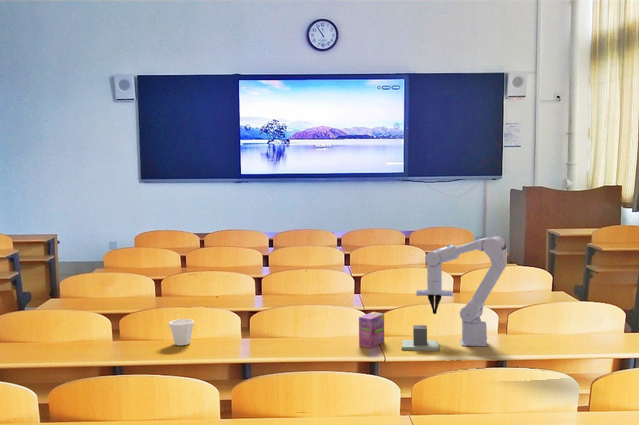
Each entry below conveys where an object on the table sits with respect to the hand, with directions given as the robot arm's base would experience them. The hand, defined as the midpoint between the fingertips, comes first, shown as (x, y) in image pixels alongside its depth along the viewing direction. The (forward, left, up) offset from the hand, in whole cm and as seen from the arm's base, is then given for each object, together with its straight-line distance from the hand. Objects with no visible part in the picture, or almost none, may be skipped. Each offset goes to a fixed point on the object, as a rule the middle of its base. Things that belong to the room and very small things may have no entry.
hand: (434, 313), depth 255 cm
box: (+25, +10, -11) cm, 29 cm away
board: (+6, +12, -10) cm, 17 cm away
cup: (+102, +16, -11) cm, 104 cm away
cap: (+6, +12, -9) cm, 16 cm away
